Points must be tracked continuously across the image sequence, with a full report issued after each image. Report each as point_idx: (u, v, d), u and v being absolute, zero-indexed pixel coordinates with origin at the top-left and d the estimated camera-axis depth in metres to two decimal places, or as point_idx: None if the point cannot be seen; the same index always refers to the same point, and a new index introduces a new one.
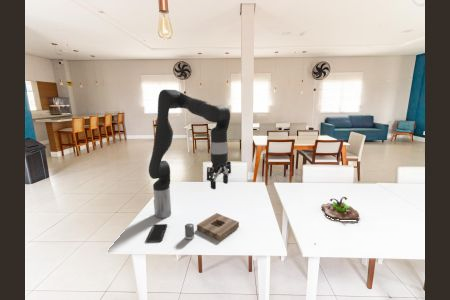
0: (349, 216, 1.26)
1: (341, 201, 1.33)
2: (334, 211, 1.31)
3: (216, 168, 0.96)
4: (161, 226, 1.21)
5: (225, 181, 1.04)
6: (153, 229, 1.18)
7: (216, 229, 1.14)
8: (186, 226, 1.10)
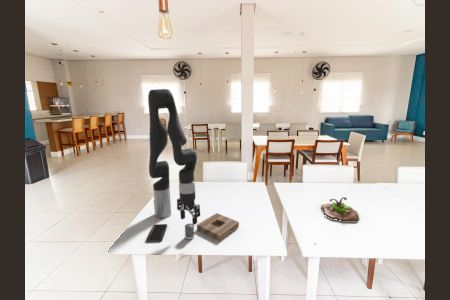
0: (349, 216, 1.26)
1: (341, 200, 1.32)
2: (334, 211, 1.30)
3: None
4: (161, 226, 1.21)
5: (183, 216, 1.12)
6: (153, 229, 1.18)
7: (216, 229, 1.14)
8: (186, 226, 1.10)
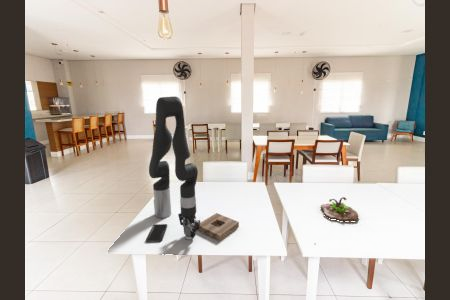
0: (348, 217, 1.26)
1: (340, 201, 1.32)
2: (333, 211, 1.30)
3: None
4: (161, 226, 1.21)
5: None
6: (153, 229, 1.18)
7: (216, 229, 1.14)
8: (186, 226, 1.10)
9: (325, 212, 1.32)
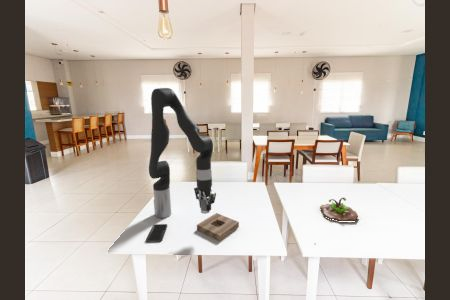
0: (348, 217, 1.25)
1: (340, 202, 1.32)
2: (333, 212, 1.30)
3: None
4: (161, 226, 1.21)
5: None
6: (153, 229, 1.18)
7: (216, 229, 1.14)
8: (202, 200, 1.11)
9: (325, 212, 1.32)
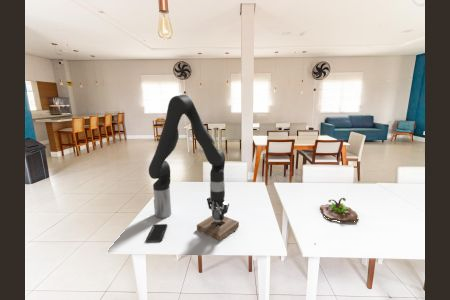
0: (347, 217, 1.25)
1: (340, 201, 1.31)
2: (332, 212, 1.29)
3: None
4: (161, 226, 1.21)
5: None
6: (153, 229, 1.18)
7: (216, 229, 1.14)
8: (215, 209, 1.17)
9: (324, 213, 1.31)
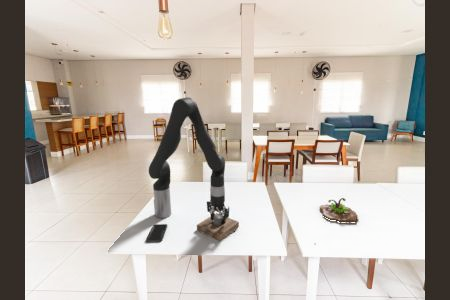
0: (347, 218, 1.25)
1: (339, 202, 1.31)
2: (332, 212, 1.29)
3: None
4: (161, 226, 1.21)
5: (213, 217, 1.21)
6: (153, 229, 1.18)
7: (216, 229, 1.14)
8: (215, 218, 1.18)
9: (324, 213, 1.31)
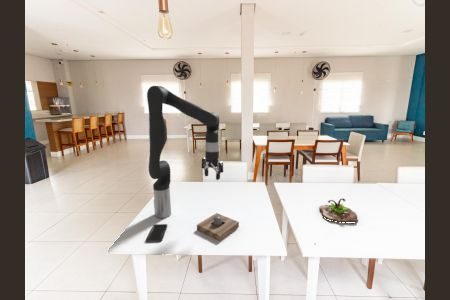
0: (347, 218, 1.24)
1: (339, 203, 1.31)
2: (332, 213, 1.29)
3: None
4: (161, 226, 1.21)
5: (207, 174, 1.28)
6: (153, 229, 1.18)
7: (216, 229, 1.14)
8: (215, 218, 1.18)
9: (324, 213, 1.30)
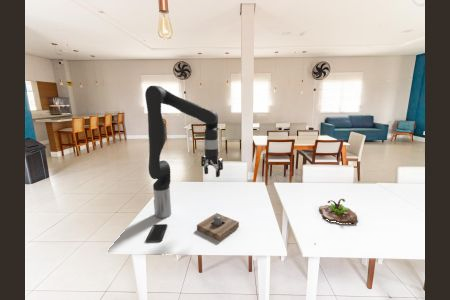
0: (347, 218, 1.24)
1: (339, 203, 1.30)
2: (332, 213, 1.28)
3: None
4: (161, 226, 1.21)
5: (207, 172, 1.28)
6: (153, 229, 1.18)
7: (216, 229, 1.14)
8: (215, 218, 1.18)
9: (324, 214, 1.30)
